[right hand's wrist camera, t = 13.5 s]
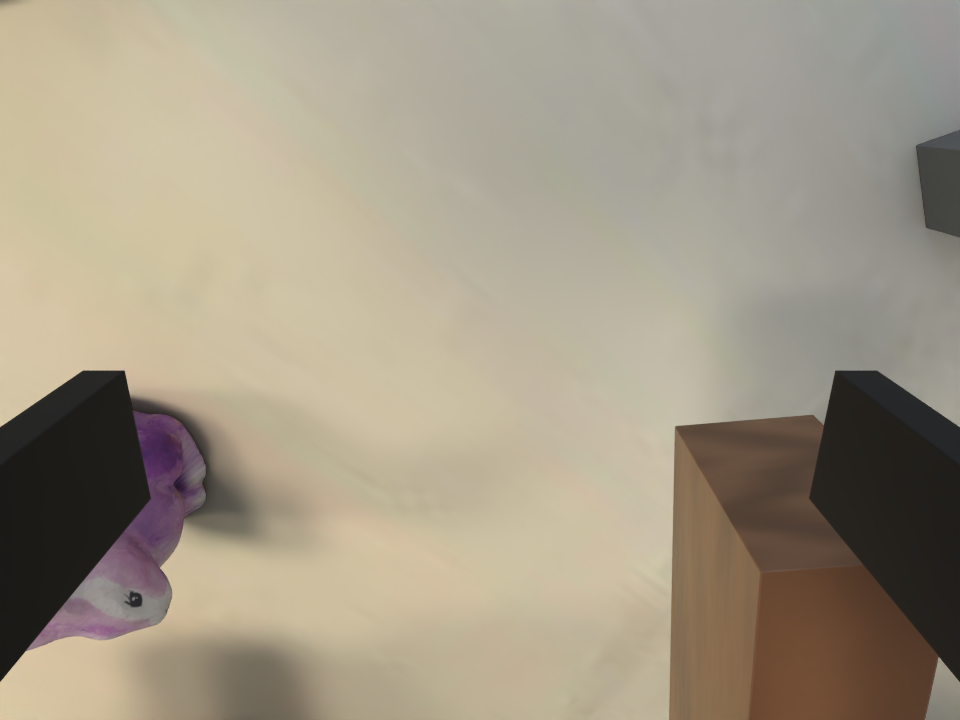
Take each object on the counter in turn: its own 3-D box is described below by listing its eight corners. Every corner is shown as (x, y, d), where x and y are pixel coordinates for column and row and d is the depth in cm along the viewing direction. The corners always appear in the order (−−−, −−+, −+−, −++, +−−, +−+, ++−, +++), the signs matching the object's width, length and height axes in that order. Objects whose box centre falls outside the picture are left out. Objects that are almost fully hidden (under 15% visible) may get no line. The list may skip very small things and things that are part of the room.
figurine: (224, 533, 47) (117, 715, 33) (76, 505, 47) (-96, 679, 33) (237, 416, 44) (125, 564, 30) (79, 384, 43) (-112, 520, 29)
